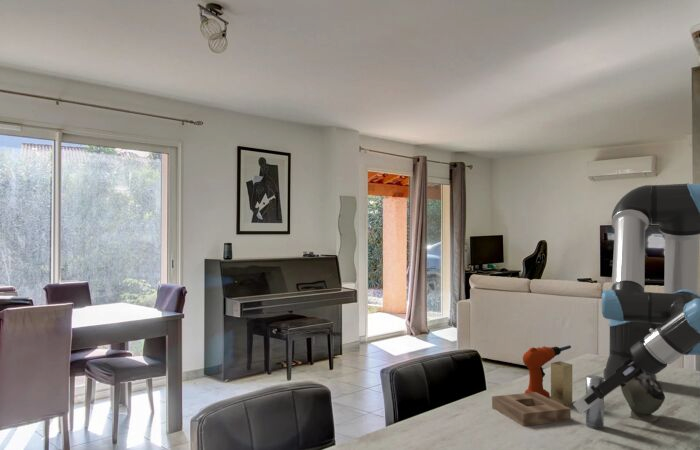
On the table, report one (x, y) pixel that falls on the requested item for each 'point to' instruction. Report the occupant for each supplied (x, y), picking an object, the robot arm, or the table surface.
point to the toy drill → (539, 366)
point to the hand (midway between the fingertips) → (587, 402)
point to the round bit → (595, 405)
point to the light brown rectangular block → (561, 382)
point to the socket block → (531, 408)
